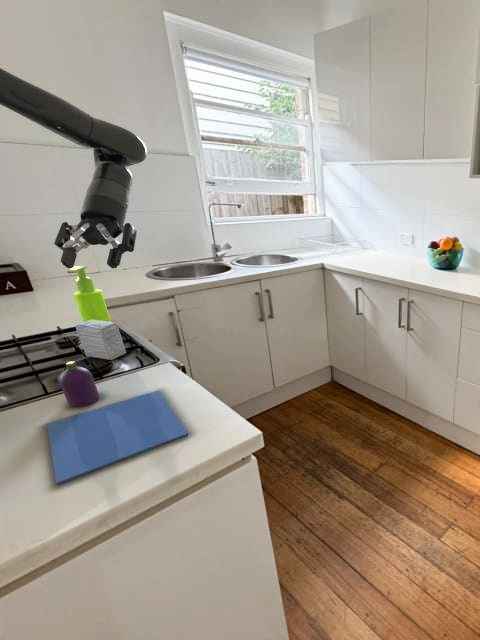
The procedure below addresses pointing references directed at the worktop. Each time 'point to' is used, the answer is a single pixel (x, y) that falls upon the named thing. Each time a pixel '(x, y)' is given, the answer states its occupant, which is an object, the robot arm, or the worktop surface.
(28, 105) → the robot arm
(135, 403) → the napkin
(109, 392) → the worktop surface
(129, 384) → the worktop surface
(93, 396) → the eggplant
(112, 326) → the medicine box
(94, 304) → the soap dispenser
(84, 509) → the worktop surface
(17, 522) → the worktop surface
